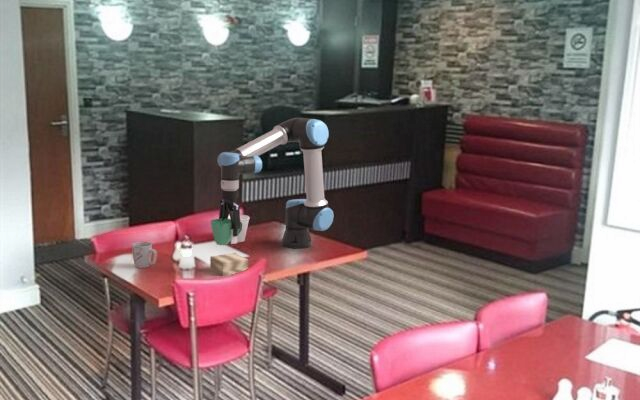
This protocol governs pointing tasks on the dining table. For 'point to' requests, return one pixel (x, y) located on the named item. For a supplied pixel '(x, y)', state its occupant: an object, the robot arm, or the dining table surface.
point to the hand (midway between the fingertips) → (229, 241)
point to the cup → (242, 234)
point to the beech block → (228, 264)
